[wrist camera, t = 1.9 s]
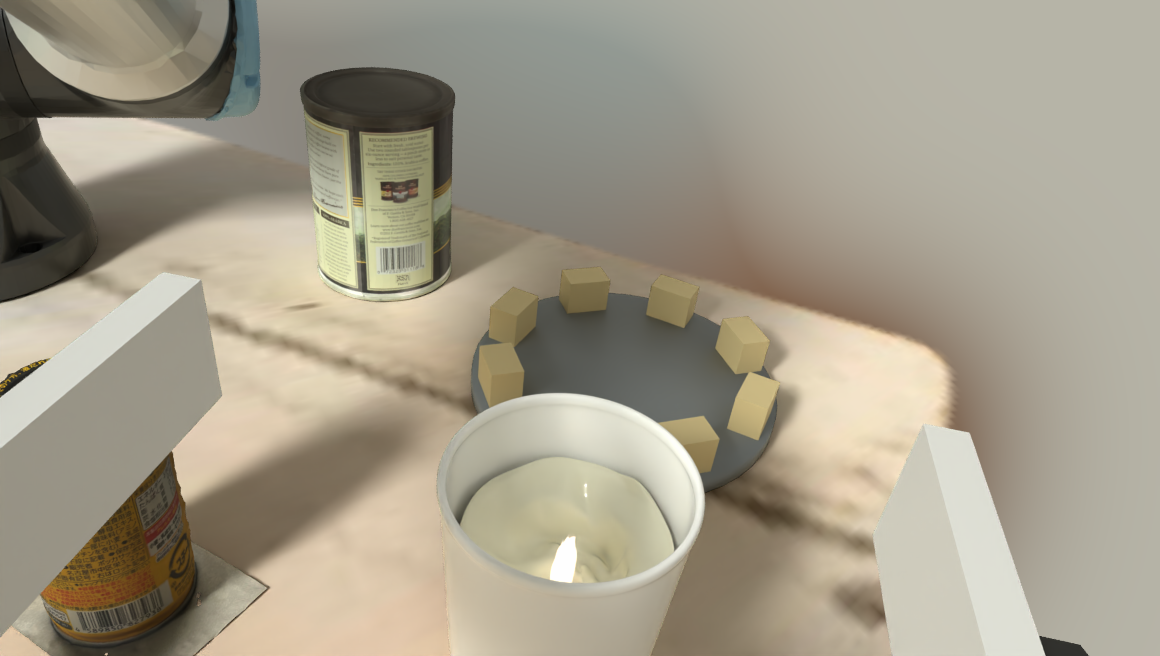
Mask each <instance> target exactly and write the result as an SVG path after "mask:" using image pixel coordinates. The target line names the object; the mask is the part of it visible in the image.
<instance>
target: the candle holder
mask: <svg viewBox="0 0 1160 656" xmlns="http://www.w3.org/2000/svg"><path fill="white" fill-rule="evenodd" d="M436 487H437V499H438V504H439V508H440V516H441V531H442V547H443V562H444V577H445V593H446V608H447V623H448V638H449V651H450V656H651V654H652V651H653V649H654V646H655V643H656V641H657V638H658V635H659V633H660V630H661V627H662V625H663V622H664V619H665V617H666V614H667V611H668V609H669V606H670V603H671V601H672V598H673V595H674V593H675V590H676V587H677V584H678V582H679V579H680V576H681V574H682V571H683V568H684V566H685V563H686V560H687V558H688V555H689V553H690V550H691V548H692V546H693V544H694V543H695V541H696V539H697V537H698V535H699V532H700V529H701V526H702V523H703V519H704V513H705V493H704V487H703V483H702V479H701V476H700V474H699V471H698V469H697V467H696V465H695V463H694V461H693V459H692V458H691V456H690V455H689V453H688V452H687V450H686V449H685V448H684V447H683V445H682V444H681V443H680V442H679V441H678V440H677V439H676V438H675V437H674V436H673V435H672V434H671V433H670V432H669V431H667V430H666V429H665V428H664V427H662V426H661V425H660V424H658V423H657V422H655V421H654V420H652V419H651V418H649V417H647V416H646V415H644V414H642V413H640V412H638V411H636V410H634V409H632V408H629V407H627V406H625V405H622V404H619V403H616V402H613V401H610V400H607V399H603V398H599V397H594V396H588V395H582V394H572V393H544V394H535V395H529V396H523V397H519V398H515V399H511V400H508V401H505V402H502V403H500V404H497V405H495V406H493V407H491V408H489V409H487V410H485V411H483V412H481V413H480V414H478V415H477V416H475V417H474V418H472V419H471V420H470V421H468V422H467V423H466V424H465V425H464V426H463V427H462V428H461V429H460V430H459V431H458V432H457V433H456V434H455V435H454V437H453V438H452V439H451V441H450V442H449V444H448V445H447V447H446V449H445V451H444V453H443V455H442V458H441V461H440V464H439V468H438V473H437V485H436Z"/></svg>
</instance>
